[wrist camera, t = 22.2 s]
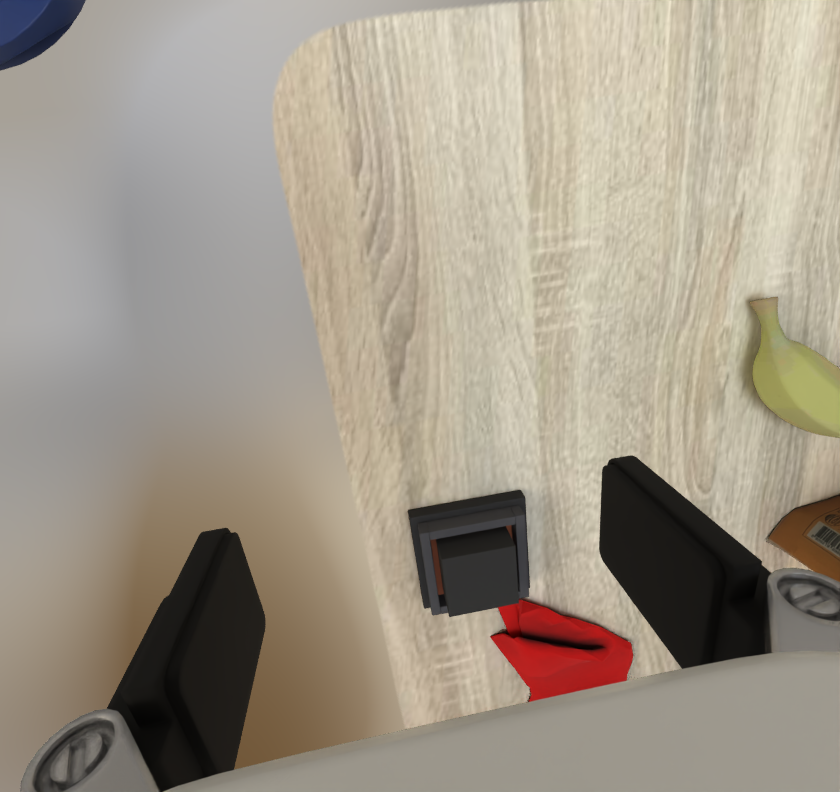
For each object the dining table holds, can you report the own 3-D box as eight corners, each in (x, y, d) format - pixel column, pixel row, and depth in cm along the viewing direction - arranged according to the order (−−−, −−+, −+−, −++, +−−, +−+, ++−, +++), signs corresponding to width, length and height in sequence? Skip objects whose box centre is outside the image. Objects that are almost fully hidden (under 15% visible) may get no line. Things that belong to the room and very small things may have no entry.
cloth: (643, 723, 52) (655, 743, 50) (531, 760, 52) (539, 782, 50) (613, 553, 43) (627, 570, 41) (477, 599, 43) (483, 618, 41)
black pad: (443, 588, 40) (449, 617, 37) (435, 534, 38) (441, 559, 35) (507, 576, 41) (519, 603, 38) (503, 521, 38) (515, 545, 35)
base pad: (422, 599, 42) (426, 622, 39) (407, 510, 38) (411, 529, 36) (525, 578, 43) (535, 600, 40) (520, 489, 39) (531, 507, 37)
